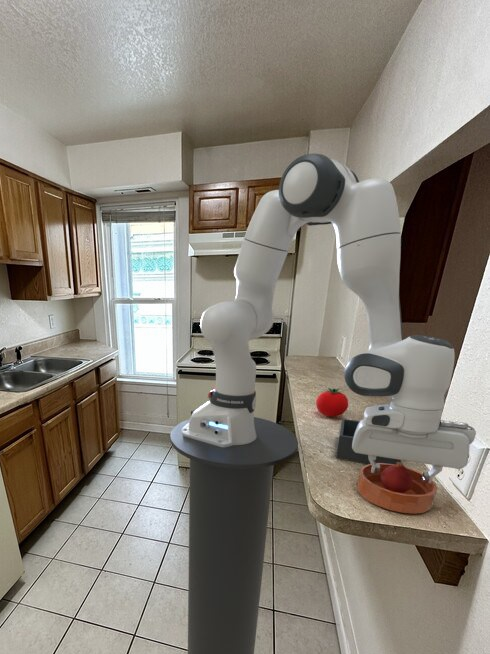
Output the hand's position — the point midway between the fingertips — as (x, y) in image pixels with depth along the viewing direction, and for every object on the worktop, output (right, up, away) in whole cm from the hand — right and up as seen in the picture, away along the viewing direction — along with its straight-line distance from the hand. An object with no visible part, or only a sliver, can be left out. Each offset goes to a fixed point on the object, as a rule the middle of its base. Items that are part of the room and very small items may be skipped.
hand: (399, 477), depth 77 cm
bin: (+5, +3, +22) cm, 23 cm away
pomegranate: (0, -4, +2) cm, 5 cm away
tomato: (+8, +13, +51) cm, 53 cm away
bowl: (0, -5, +2) cm, 5 cm away
